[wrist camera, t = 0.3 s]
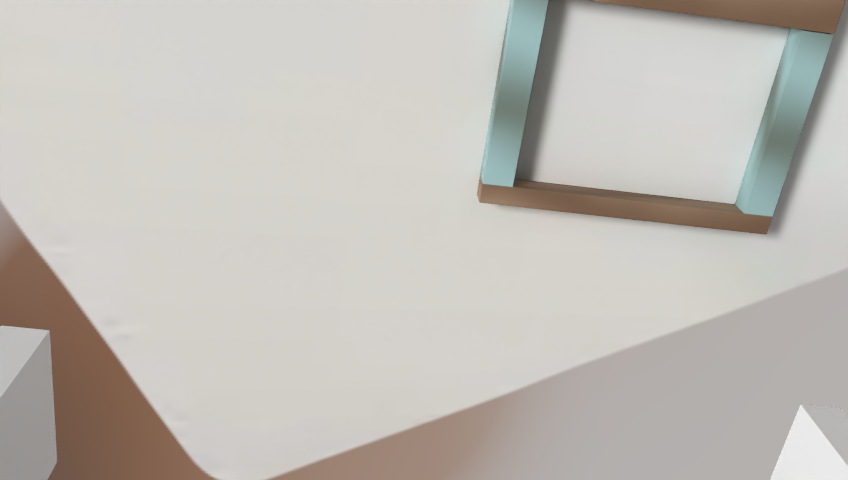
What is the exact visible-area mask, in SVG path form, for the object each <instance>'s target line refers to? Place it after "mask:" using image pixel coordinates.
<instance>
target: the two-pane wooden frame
mask: <svg viewBox="0 0 848 480" xmlns="http://www.w3.org/2000/svg"><path fill="white" fill-rule="evenodd" d="M548 1H549V0H511V1H510V7H509V13H508V19H507V24H506V30H505V36H504V42H503V48H502V53H501V59H500V65H499V71H498V76H497V82H496V88H495V94H494V99H493V105H492V111H491V117H490V122H489V128H488V134H487V140H486V145H485V151H484V157H483V163H482V169H481V174H480V180H479V186H478V192H477V195H478V199H479V202H481V203H489V204H498V205H507V206H516V207H525V208H534V209H543V210H552V211H561V212H570V213H579V214H588V215H597V216H606V217H615V218H624V219H633V220H642V221H651V222H660V223H669V224H678V225H687V226H695V227H704V228H713V229H722V230H731V231H740V232H749V233H758V234H767V231H768V228H769V225H770V222H771V219H772V216H773V213H774V210H775V207H776V205H777V202H778V199H779V196H780V193H781V190H782V187H783V184H784V181H785V178H786V175H787V172H788V169H789V166H790V163H791V160H792V157H793V154H794V151H795V148H796V145H797V142H798V139H799V137H800V134H801V131H802V128H803V125H804V122H805V119H806V116H807V113H808V110H809V107H810V104H811V101H812V98H813V95H814V92H815V89H816V86H817V83H818V80H819V77H820V74H821V71H822V69H823V66H824V63H825V60H826V57H827V54H828V51H829V48H830V45H831V42H832V39H833V36H834V35H833V34H834V33H835V30H836V27H837V24H838V21H839V18H840V15H841V12H842V9H843V6H844V3H845V0H590V1H597V2H605V3H612V4H619V5H627V6H634V7H641V8H649V9H656V10H663V11H671V12H678V13H685V14H693V15H700V16H707V17H715V18H722V19H729V20H737V21H744V22H751V23H759V24H766V25H773V26H781V27H788V28H791V29H790V32H789V35H788V39H787V42H786V45H785V48H784V51H783V54H782V58H781V61H780V64H779V67H778V70H777V73H776V77H775V80H774V83H773V86H772V89H771V92H770V96H769V99H768V102H767V105H766V108H765V112H764V115H763V118H762V121H761V124H760V127H759V131H758V134H757V137H756V140H755V143H754V146H753V150H752V153H751V156H750V159H749V162H748V165H747V169H746V172H745V175H744V178H743V181H742V184H741V188H740V191H739V194H738V197H737V200H736V203H735V204H726V203H717V202H709V201H700V200H691V199H682V198H674V197H665V196H656V195H648V194H639V193H630V192H621V191H613V190H604V189H595V188H587V187H578V186H569V185H560V184H552V183H543V182H534V181H526V180H517V179H514V178H515V172H516V167H517V162H518V157H519V152H520V146H521V141H522V136H523V131H524V126H525V120H526V115H527V110H528V105H529V100H530V94H531V89H532V84H533V79H534V73H535V68H536V63H537V58H538V53H539V47H540V42H541V37H542V32H543V27H544V21H545V16H546V11H547V6H548ZM830 33H832V34H830Z"/></svg>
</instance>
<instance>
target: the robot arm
mask: <svg viewBox="0 0 848 480" xmlns="http://www.w3.org/2000/svg"><path fill="white" fill-rule="evenodd" d="M56 463H57V453H56V435H55V418H54V400H53V382H52V365H51V347H50V332H49V330H40V329H30V328H20V327H9V326H1V327H0V480H47V479H48V477H49V476H50V474H51V472H52V470H53V468H54V466H55V465H56ZM770 480H848V417H847V415H846V414H845V413H844V412H843V411H842V410H841V408H832V407H822V406H812V405H802V404H801V405H800V407H799V410H798V413H797V415H796V417H795V420H794V423H793V425H792V427H791V430H790V432H789V435H788V437H787V440H786V442H785V444H784V447H783V450H782V452H781V454H780V457H779V459H778V462H777V464H776V466H775V469H774V472H773V474H772V476H771V479H770Z"/></svg>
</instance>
